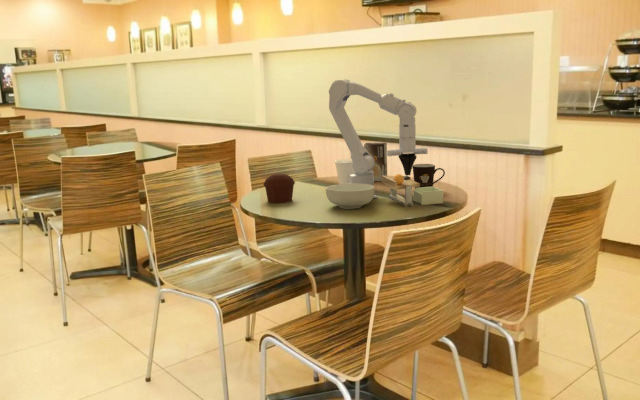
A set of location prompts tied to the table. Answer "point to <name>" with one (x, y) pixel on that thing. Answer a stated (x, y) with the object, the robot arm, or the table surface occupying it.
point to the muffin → (279, 188)
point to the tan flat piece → (393, 184)
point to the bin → (428, 195)
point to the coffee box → (378, 159)
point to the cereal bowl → (350, 195)
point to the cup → (344, 170)
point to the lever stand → (404, 201)
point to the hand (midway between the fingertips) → (407, 174)
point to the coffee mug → (425, 174)
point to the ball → (399, 179)
